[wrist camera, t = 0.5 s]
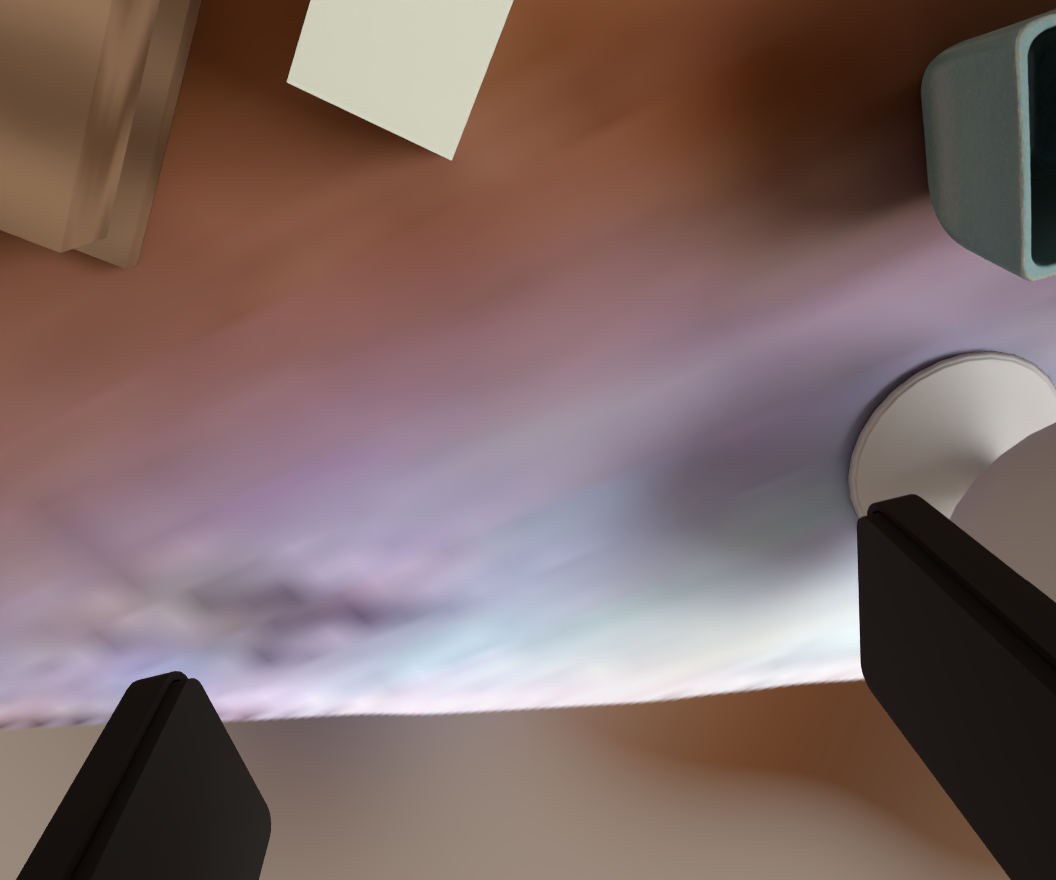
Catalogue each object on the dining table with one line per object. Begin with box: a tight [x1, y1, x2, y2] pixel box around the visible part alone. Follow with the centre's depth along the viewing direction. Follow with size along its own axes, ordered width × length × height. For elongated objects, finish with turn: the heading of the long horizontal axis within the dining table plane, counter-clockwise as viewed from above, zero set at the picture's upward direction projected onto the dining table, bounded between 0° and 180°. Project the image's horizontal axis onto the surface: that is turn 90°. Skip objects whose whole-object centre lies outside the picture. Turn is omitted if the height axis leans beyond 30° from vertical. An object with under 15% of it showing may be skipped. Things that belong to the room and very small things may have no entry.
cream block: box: [287, 0, 513, 161], centre depth 26 cm, size 6×6×6 cm
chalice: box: [848, 351, 1056, 602], centre depth 33 cm, size 14×14×15 cm
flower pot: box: [921, 9, 1056, 281], centre depth 28 cm, size 9×9×9 cm
